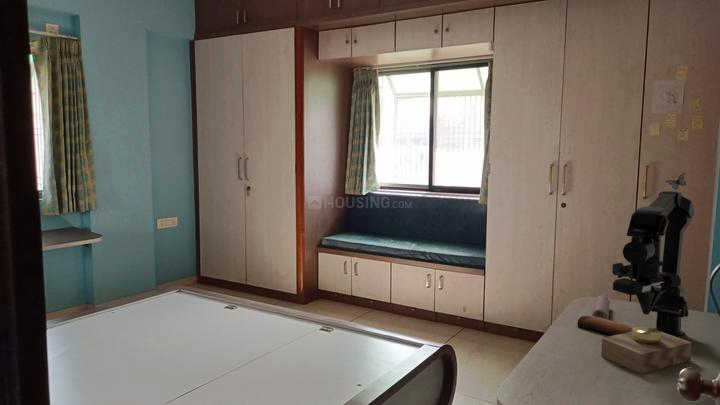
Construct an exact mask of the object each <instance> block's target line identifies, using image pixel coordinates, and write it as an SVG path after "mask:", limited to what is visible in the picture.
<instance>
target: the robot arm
mask: <svg viewBox="0 0 720 405" xmlns="http://www.w3.org/2000/svg"><path fill="white" fill-rule="evenodd" d="M694 216H695V206H694V205H693V203H692V200H690V199H689V198H687V197H684V196H683V195H682V193H681V192H678V191H674V190H673V191H672V190H671V191H668V190H662V191H660V192H659V194H658V196H657V197H656V198H655V200H653V201H652V202H651V203H650V204H649V205H648V206H642V207H639V208H637V209H635V210H634V212H633V213H632V214H631V218H630V220H629V225H628V228H627V232H626V236H627V237H631V240H630V241H629V242H628V243H626V244H625V245H624V246H623V248H622V256H623V258H624V259H625V260H626V262H628V263H630V264H627V265H624V264H623V263H622V262H618V263H612V267H611V271H612V272H611V273H612V274H613V276H617V279H615V280H614V281H613V282H612V290H613V291H616V292H619V293H621V294H626V295H628V296H636V298H637V300H638V303H639V306H640V308H641V312H642V314H643V315H646V316H647V315H649V314H650V313H651V312H652V313H653V312H654V313H656V320H655V321H656V323H655V328H654V329H656V330H659V331H661V332H664V333H666V334H669V335H672V336H675V337H680V336H684V335H687V333H686V332H685V331H682V318H685V317H689V306H688V305H689V304H688V301H687V299H686V297H685V290H684V288H683V286H682V284H681V283H682V280H681V279H682V278H681V277H680V271H681V260H682V250H683V239H684V233H685V231H686V230H687V229H688V228H689V226H690V225H691V224H692V219H693V218H694ZM663 236H664V242H663V251H662V254H663V255H662V260H661V248H662V247H661V245H662V243H661V242H662V241H661V239H662V238H663ZM624 277H625V278H624Z"/></svg>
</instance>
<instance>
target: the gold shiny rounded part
mask: <svg viewBox="0 0 720 405" xmlns="http://www.w3.org/2000/svg"><path fill="white" fill-rule="evenodd" d="M631 328H632V339H633V340H634V341H635V342H638V343H641V344H646V345H658V344H660V343H661V332H660V331H659V330H656V329H654V328H653V327H647V326H634V327H631Z"/></svg>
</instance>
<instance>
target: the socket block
mask: <svg viewBox="0 0 720 405" xmlns="http://www.w3.org/2000/svg"><path fill="white" fill-rule="evenodd" d="M660 332H661V331H660ZM601 357H603V358H605V359H607V360H610V361H611V362H614V363H616V364H618V365H620V366H623V367H624V368H627V369H629V370H631V371H634V372H636V373H637V374H640V375H642V374H646V373H650V372H653V371H657V370H661V369H665V368H668V367H672V366H676V365H680V363H681V364H683V363H682V362H685V363H687V362H686V361H688V362H691V361H692V342H691V341H689V340H686V339H683V338H680V337H679V336H676V337H675V336H672V335H669V334H666V333H664V332H661V343H660V344H658V345H646V344H641V343H638V342H635V341H634V340H633V339H632V332H628V333H623V334H618V335H610V336H606V337H602V338H601ZM690 360H691V361H690Z"/></svg>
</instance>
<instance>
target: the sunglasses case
mask: <svg viewBox="0 0 720 405" xmlns="http://www.w3.org/2000/svg"><path fill="white" fill-rule="evenodd" d="M576 324H577V327H581V328H585V329H592V330H595V331H599V332H602V333H605V334H610V335H611V336H614V335H618V334H623V333H628V332H632V328H633V327H631V326H629V325H628V324H626V323H622V322H617V321H614V320H609V319H608V320H607V319H604V318H600V317H595V316H592V315H583V316H579V318H578V319H577V323H576Z"/></svg>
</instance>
